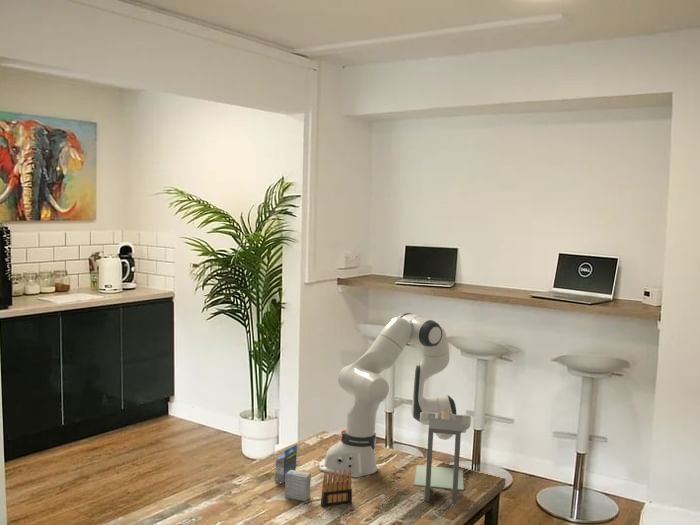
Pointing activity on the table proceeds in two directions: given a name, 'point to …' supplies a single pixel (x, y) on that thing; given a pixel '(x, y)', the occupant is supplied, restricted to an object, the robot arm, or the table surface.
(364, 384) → the robot arm
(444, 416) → the beech bar
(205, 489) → the table surface
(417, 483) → the mat
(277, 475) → the label tape box
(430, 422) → the stand
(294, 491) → the medicine box
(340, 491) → the ammunition clip
